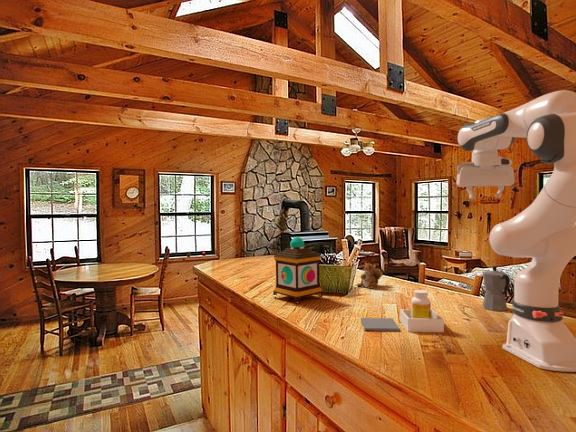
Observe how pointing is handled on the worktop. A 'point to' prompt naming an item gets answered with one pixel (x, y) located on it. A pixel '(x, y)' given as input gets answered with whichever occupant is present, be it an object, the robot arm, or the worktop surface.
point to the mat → (380, 324)
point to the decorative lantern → (297, 271)
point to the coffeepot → (495, 290)
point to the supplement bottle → (420, 305)
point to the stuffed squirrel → (370, 276)
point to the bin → (421, 322)
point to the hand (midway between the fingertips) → (484, 198)
